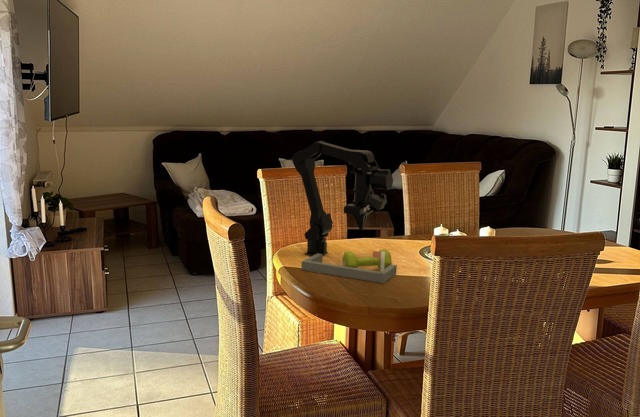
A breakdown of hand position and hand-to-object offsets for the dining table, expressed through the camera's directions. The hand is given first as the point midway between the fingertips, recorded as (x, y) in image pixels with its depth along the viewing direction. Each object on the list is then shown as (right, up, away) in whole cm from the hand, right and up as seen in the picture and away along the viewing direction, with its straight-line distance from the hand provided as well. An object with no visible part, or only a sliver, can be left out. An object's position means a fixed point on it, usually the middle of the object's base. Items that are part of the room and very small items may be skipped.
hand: (361, 229), depth 213 cm
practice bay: (-5, -14, -10) cm, 18 cm away
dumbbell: (+1, -14, -9) cm, 17 cm away
